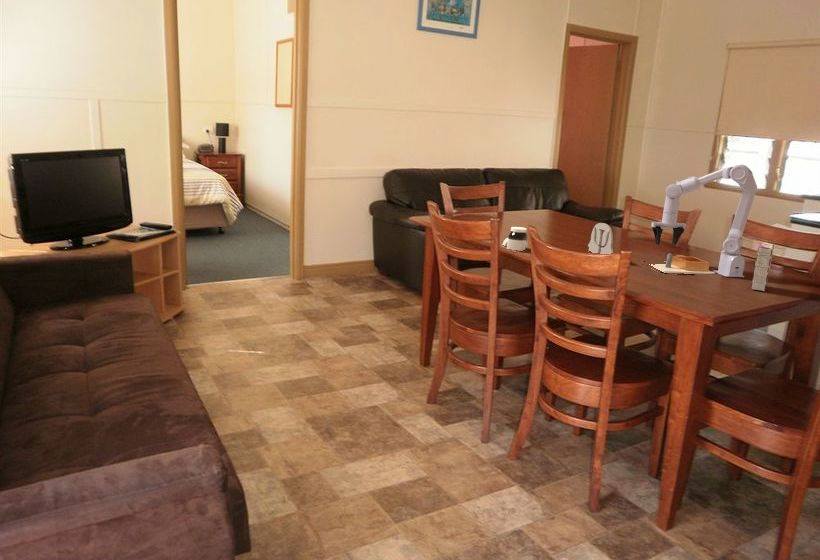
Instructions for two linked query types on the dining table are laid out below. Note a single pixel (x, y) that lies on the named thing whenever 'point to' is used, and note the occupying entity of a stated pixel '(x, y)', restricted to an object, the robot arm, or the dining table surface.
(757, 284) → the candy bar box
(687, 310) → the dining table surface
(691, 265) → the wooden link
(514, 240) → the spread jar
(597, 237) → the ornament
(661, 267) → the board
